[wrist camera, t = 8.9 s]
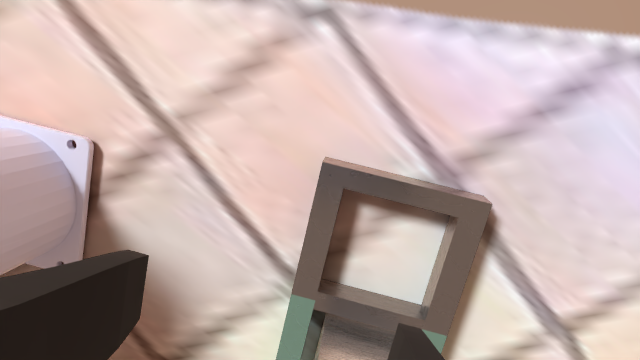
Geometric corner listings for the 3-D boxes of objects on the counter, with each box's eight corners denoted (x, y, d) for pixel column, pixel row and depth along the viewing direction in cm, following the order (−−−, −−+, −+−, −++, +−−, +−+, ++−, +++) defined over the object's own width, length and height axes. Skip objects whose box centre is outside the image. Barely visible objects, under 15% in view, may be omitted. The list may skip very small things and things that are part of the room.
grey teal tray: (270, 388, 24) (264, 407, 23) (325, 156, 21) (322, 161, 19) (405, 426, 24) (408, 448, 22) (483, 196, 20) (492, 204, 19)
